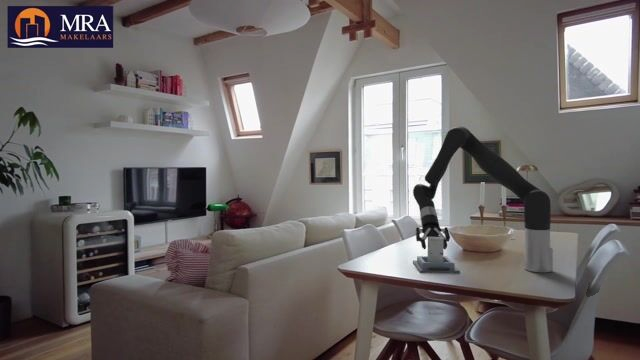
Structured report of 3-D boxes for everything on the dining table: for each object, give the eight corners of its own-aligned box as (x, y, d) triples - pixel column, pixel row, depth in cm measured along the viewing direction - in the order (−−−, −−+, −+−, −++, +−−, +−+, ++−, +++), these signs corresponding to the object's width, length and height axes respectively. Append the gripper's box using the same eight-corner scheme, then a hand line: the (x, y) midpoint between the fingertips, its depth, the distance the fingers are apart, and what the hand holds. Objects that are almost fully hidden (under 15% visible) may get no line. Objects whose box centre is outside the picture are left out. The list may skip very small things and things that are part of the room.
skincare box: (429, 266, 160) (429, 238, 160) (427, 263, 165) (427, 236, 164) (444, 266, 160) (443, 238, 159) (441, 264, 164) (441, 236, 164)
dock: (448, 262, 170) (448, 255, 170) (460, 273, 152) (459, 264, 152) (412, 262, 172) (412, 255, 172) (420, 272, 154) (419, 264, 154)
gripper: (414, 213, 171) (419, 243, 159) (446, 213, 170) (453, 243, 158) (412, 223, 176) (417, 253, 165) (443, 223, 175) (450, 253, 164)
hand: (435, 248), depth 162 cm, fingers open, 8 cm apart
